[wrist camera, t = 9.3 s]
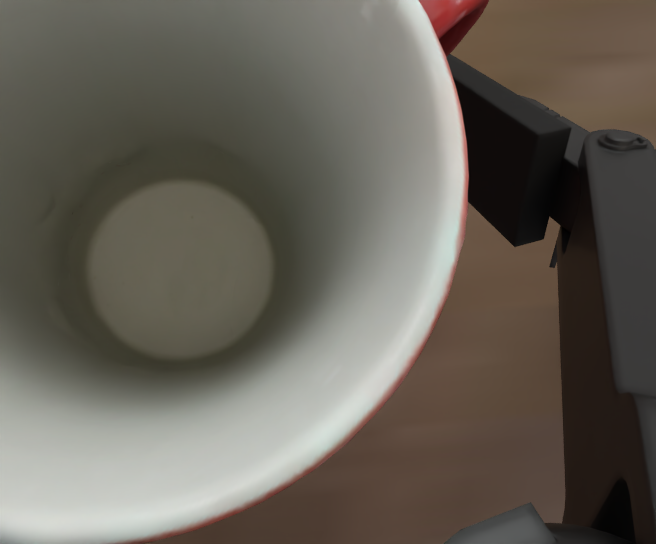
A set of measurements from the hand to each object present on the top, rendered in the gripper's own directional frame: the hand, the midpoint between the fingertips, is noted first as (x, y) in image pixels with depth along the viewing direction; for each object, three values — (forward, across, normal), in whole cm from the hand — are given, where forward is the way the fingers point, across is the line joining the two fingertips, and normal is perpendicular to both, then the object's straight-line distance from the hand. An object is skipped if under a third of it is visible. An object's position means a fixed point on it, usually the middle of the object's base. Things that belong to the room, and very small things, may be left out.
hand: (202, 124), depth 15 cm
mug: (+2, 0, -6) cm, 6 cm away
